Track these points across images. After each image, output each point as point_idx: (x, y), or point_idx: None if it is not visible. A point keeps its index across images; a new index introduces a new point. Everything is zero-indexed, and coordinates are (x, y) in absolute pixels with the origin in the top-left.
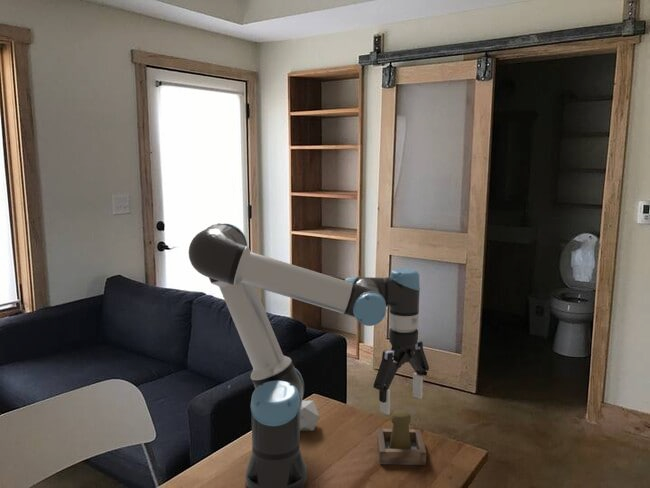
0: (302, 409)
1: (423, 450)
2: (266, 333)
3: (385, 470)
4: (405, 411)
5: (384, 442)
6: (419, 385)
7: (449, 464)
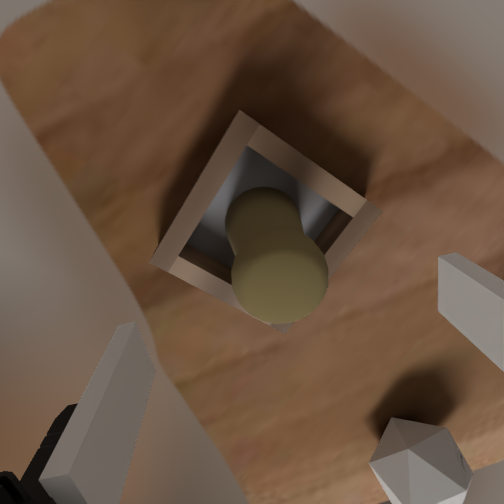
0: (466, 485)
1: (238, 130)
2: None
3: (374, 160)
4: (252, 292)
5: None
6: (110, 400)
7: (154, 63)
